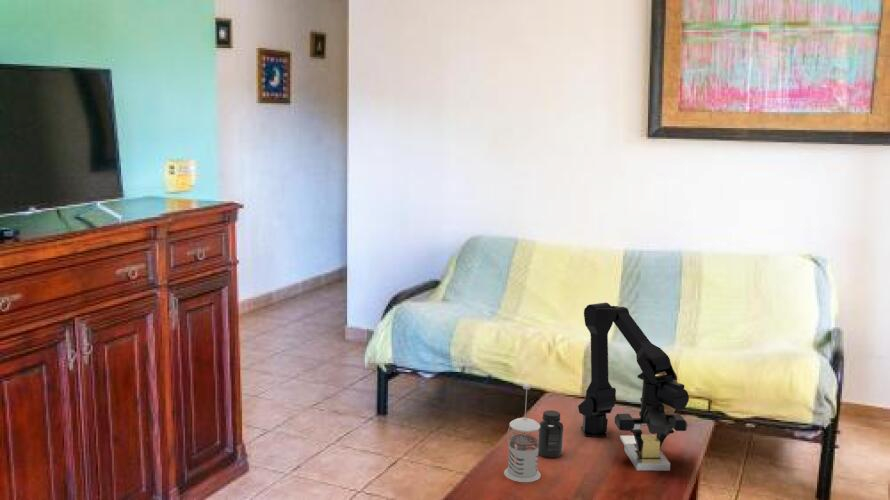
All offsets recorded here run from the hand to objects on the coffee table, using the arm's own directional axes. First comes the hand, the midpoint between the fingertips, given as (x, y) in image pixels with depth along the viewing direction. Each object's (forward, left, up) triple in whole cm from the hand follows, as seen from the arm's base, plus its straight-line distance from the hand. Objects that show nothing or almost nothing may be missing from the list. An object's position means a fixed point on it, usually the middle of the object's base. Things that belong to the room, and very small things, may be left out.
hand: (648, 451), depth 229 cm
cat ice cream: (+14, +28, -3) cm, 31 cm away
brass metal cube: (0, 0, -3) cm, 3 cm away
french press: (-36, -7, -3) cm, 37 cm away
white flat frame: (0, +1, -3) cm, 3 cm away
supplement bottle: (-26, +5, -3) cm, 27 cm away
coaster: (+1, +12, -3) cm, 12 cm away
